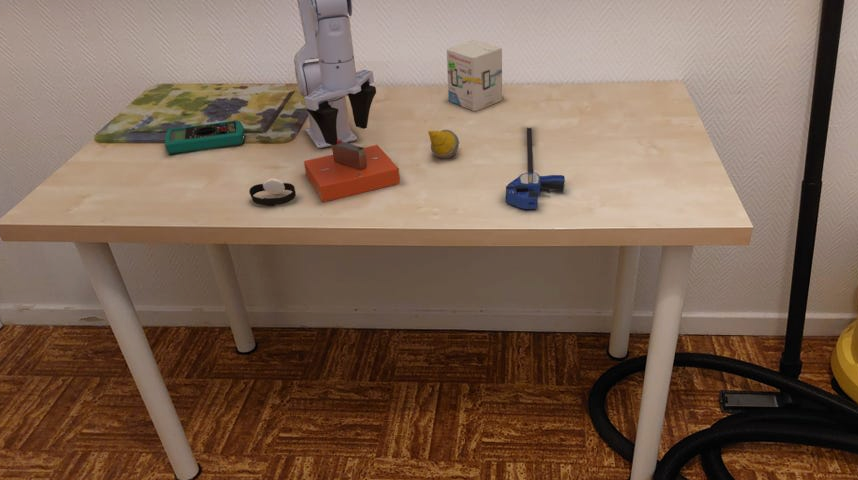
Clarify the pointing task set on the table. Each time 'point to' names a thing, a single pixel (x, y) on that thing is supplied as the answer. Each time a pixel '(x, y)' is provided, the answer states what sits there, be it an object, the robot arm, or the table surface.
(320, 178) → the orange block
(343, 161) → the grey block with button
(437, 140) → the yellow pointed rounded piece
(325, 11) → the robot arm
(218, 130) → the digital multimeter
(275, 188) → the watch
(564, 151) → the table surface
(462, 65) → the ink box
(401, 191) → the table surface
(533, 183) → the bar clamp
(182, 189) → the table surface
